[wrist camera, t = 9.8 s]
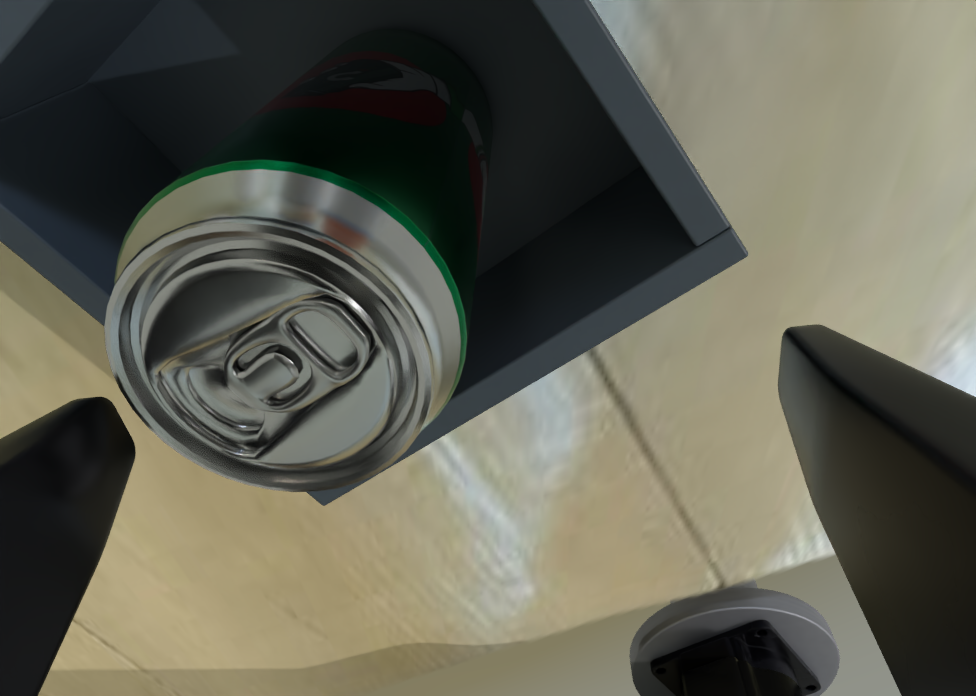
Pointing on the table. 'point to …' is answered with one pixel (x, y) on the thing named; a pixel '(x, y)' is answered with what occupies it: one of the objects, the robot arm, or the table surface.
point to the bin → (286, 57)
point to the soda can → (312, 272)
